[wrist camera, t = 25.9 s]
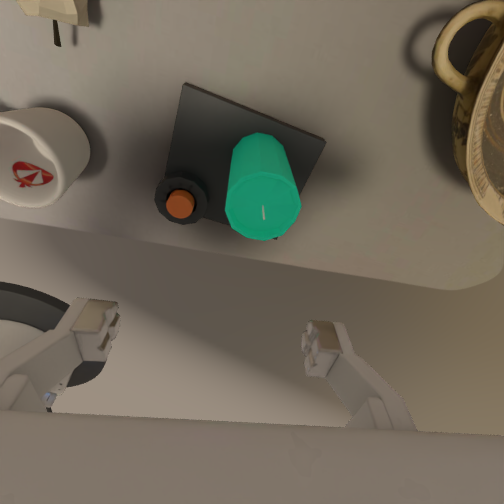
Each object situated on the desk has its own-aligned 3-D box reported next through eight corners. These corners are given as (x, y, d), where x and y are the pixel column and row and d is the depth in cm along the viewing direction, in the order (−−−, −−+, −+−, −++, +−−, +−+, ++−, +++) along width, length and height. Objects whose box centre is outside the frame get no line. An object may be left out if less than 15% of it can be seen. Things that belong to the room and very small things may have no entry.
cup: (-15, 137, 30) (-86, 164, 24) (-10, 60, 26) (-93, 67, 20) (91, 188, 34) (54, 223, 27) (110, 127, 30) (72, 151, 23)
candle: (250, 197, 33) (252, 262, 23) (219, 154, 30) (206, 209, 20) (296, 169, 31) (318, 228, 22) (267, 119, 28) (278, 163, 18)
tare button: (191, 214, 33) (189, 221, 32) (167, 207, 32) (163, 214, 31) (197, 193, 31) (195, 200, 30) (171, 185, 31) (168, 191, 30)
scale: (273, 238, 38) (274, 252, 36) (157, 203, 35) (151, 215, 33) (323, 138, 31) (330, 147, 28) (182, 80, 27) (175, 84, 25)
